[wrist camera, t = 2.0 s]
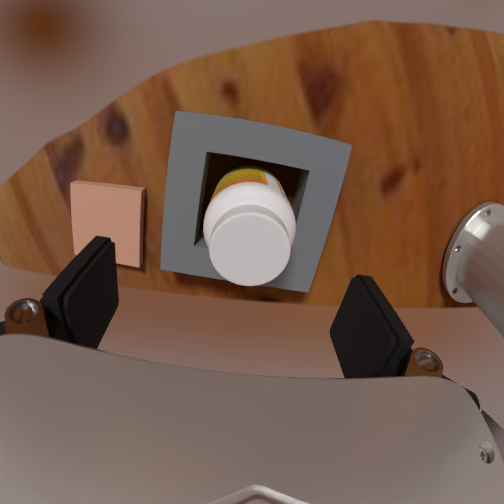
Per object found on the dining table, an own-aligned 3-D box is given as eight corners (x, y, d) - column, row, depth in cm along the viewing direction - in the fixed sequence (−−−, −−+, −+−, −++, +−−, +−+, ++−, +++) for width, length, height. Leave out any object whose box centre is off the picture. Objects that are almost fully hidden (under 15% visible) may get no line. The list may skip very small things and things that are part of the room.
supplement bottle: (202, 206, 23) (175, 266, 14) (239, 150, 21) (232, 175, 12) (258, 240, 24) (263, 314, 15) (296, 188, 22) (327, 238, 13)
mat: (145, 187, 22) (141, 191, 21) (142, 262, 25) (139, 267, 24) (76, 180, 21) (70, 183, 20) (79, 249, 24) (74, 254, 23)
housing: (339, 141, 20) (352, 145, 18) (302, 273, 26) (308, 292, 23) (185, 111, 19) (175, 110, 17) (169, 252, 24) (160, 269, 22)
